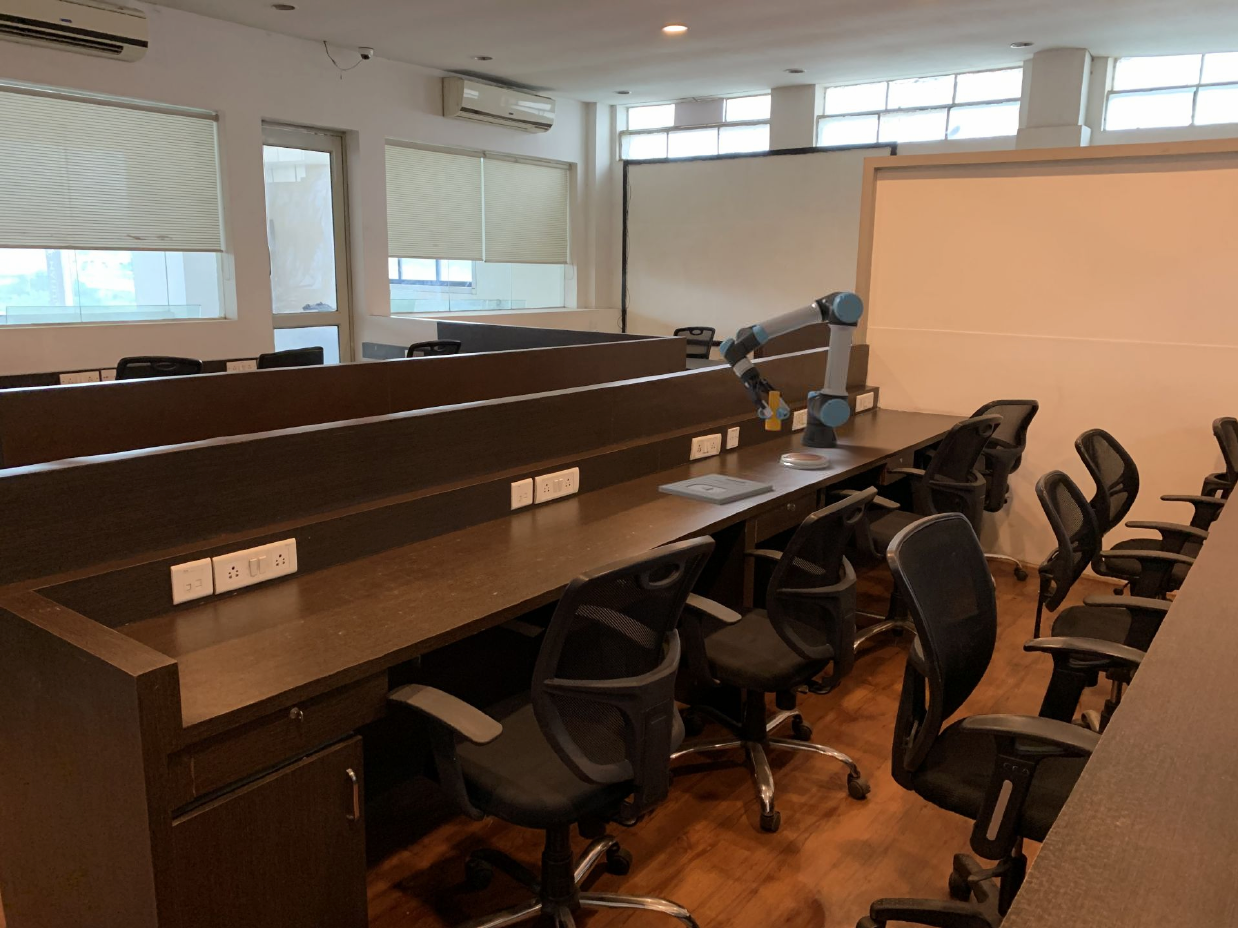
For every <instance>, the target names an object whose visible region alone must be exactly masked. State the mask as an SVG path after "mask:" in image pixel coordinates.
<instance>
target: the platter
mask: <svg viewBox="0 0 1238 928" xmlns="http://www.w3.org/2000/svg"><path fill="white" fill-rule="evenodd" d="M781 459H782V462H785V463H788V464H793V465H802V466H818V465H824V464H827V462H828V458H827V457H826V456H823V455H820V454H814V453H804V452H803V453H802V452H801V453H799V452H797V453H796V452H795V453H792V452H791V453H787V454H782V455H781Z"/></svg>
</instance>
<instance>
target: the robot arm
mask: <svg viewBox="0 0 1238 928" xmlns="http://www.w3.org/2000/svg"><path fill="white" fill-rule="evenodd" d="M863 313H864V303H863V301H862V299H861V297H859V296H858V295H857V294H856V293H853V292H850V291H835V292H831V293H829V294H827V295H825V296H822V297H820V298H818V299H815V300H813V301H812V302H811V304H809V305H806V306H804V307H803V306H802V307H800V308H797V309H795V310H792V311H790V312H786V313H783V314H781V315H780V314H779V315H777V316H776V317H775V316H774V317H772V318H770V319H767V320H765V321H762V322H759V323H756V324H753V325H750V326H748V327H741V328H739V329H738V330H737V331H736V333H735V336H734V338H735V339H734V338H732V337H729V338H728V339H725V340H724V341H723V342H721V343H720V345H719V347H718V351H719V353H720V354H721V356H722V357H723V359H724V360H725V361H726V362H727V364H728V365H729V366H730V368H731V369H732V370H733V371H734V372H735V375H736V376H738V378H740V380H741V382H742V383H743V386H744V388H745V389H746V391H747V393H748V395H749V398H750V400H751V403H752V404H753V405H754V406H756V407H757V406H759V409H760V408H761V409H762V410H761V411H762V412H763V413H764V415H765V414H766V416H767V417H768V418H769V417H770V416H771V415H772V414H773V412H772V410H771V409H770V408H769V404H767V403H766V402H765V400H764V399H763V398H762V395H761V393H765V394H766V395H767V396H768V397H769V391H779V390H777V389H776V387H774V386H773V385H772V384H771V383H770V382H769V381H768V380H767V379H766V378H765V377H764V378H763V379H761V378H760V376H761V373H760V371H759V370H758V369H757V367H755V365H754V363H753V362H752V361H751V360H750V358H749V357H748V355H749V354H751V353H753V352H754V351H755V350H757V349H758V348H760V347H761V346H762V345H764V344H765V343H766V342H768V341H769V339H771V338H775V337H778V336H781V335H784V334H786V333H789V332H792V331H794V330H795V331H796V330H797V329H801V328H803V327H806V326H809V325H811V324H814V323H819V324H822V323H824V322H827V323H828V324H827V325H828V327H829V328H830V334H829V335H830V336H829V345H828V353H827V361H826V368H825V377H824V386H823V388H822V389H821V390H819V391H817V390H816V391H815V390H814V391H810V392H808V393H807V404H806V405H807V410H806V424H805V428H804V431H803V434H802V436H801V442H800V445H803V446H804V447H805V446H806V447H811V448H812V447H813V448H834V447H838V438H837V434H836V430H835V427H840V426H841V425H844V424H845V423H846V422H847V421H848V419H849V418H850V414H851V409H850V408H851V407H850V406H849V403H848V402H849V393H848V392H847V390H846V387H847V386H846V385H847V379H848V373H849V372H848V370H849V364H850V356H851V347H852V341H853V333H854V331H855V330H856V329H857V328H858V325H859V319H860V318H861V317H862V315H863ZM782 396H783V394H782V393H781V392H780V397H779V407H781V409H782V408H786V409H788V410H789V411H790V410H791V409H790V408H789V407H788V405H787V403H785V401H784V400H783V399H782ZM782 411H783V413H784V415H787V411H786V410H782Z"/></svg>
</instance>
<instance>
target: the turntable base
mask: <svg viewBox="0 0 1238 928" xmlns="http://www.w3.org/2000/svg"><path fill="white" fill-rule="evenodd" d="M779 465H780V466H781V467H783V468H787V469H792V470H798V471H799V470H800V471H819V470H820V471H821V470H826V469H828V468H829V462H828V461H827V464H824V465H818V466H802V465H793V464H788V463H785V462H782V458H780V460H779Z"/></svg>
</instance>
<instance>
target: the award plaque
mask: <svg viewBox="0 0 1238 928" xmlns="http://www.w3.org/2000/svg"><path fill="white" fill-rule="evenodd" d="M773 486H774V485H773V484H770V483H763V482H760V481H758V482H757V481H754V480H748V479H745V478H739V477H732V476H727V475H722V474H717V473H710V474H707V475H703V476H698V477H693V478H690V479H687V480H681V481H677V482H673V483H668V484H664V485H660V486H658V492H660V493H664V494H669V495H674V496H677V497H683V498H687V499H691V500H696V501H701V502H705V503H710V504H714V505H722V504H726V503H729V502H733V501H736V500H741V499H745V498H749V497H751V496H755V495H758V494H762V493H767V492H769V491H772V490H773Z"/></svg>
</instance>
